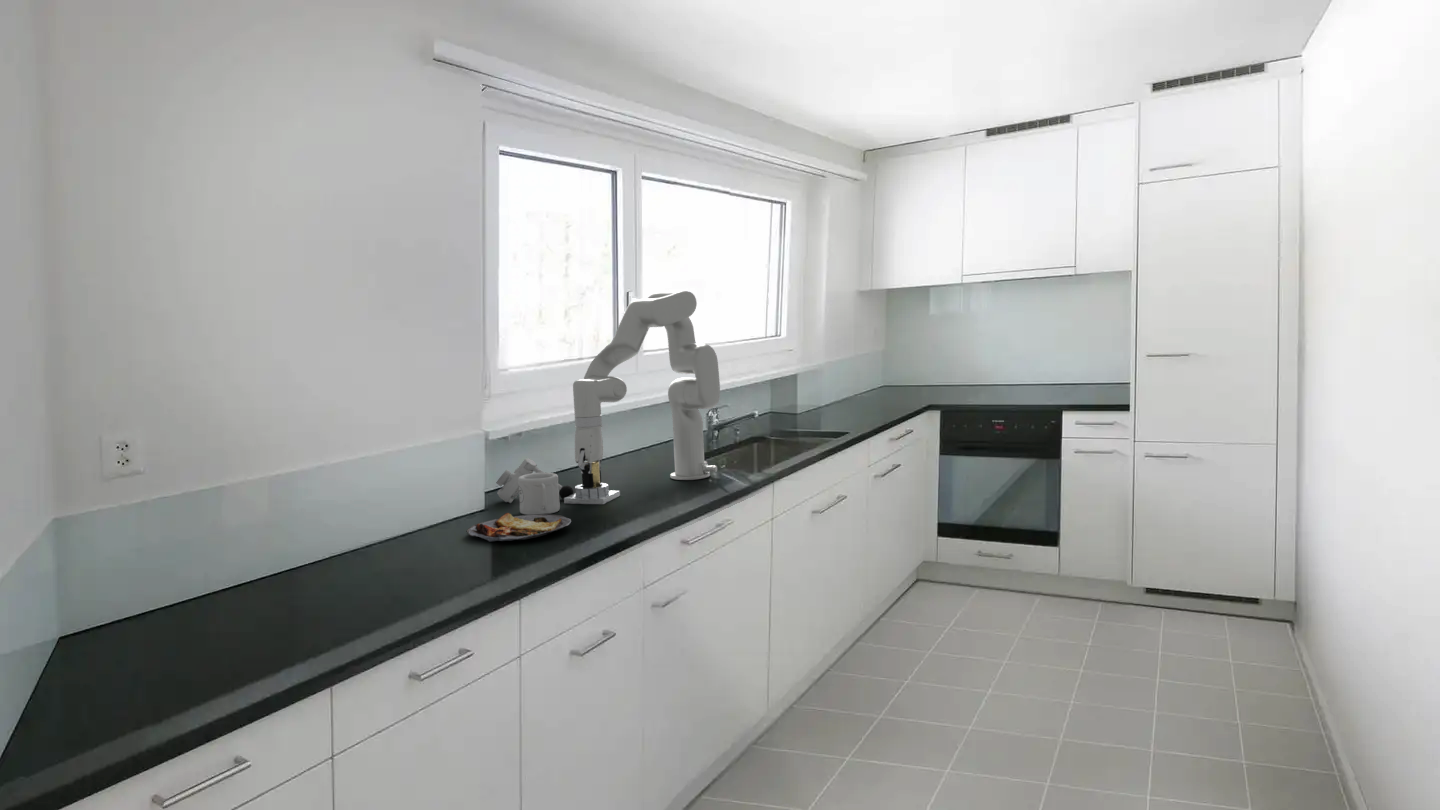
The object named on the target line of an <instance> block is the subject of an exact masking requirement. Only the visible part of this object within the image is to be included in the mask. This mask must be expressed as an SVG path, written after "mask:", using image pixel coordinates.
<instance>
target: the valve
mask: <svg viewBox="0 0 1440 810" xmlns="http://www.w3.org/2000/svg"><path fill="white" fill-rule="evenodd" d="M537 466H538V465H537V463H536V462H535V461H534V460H533V459H531V458H528V457H526V458H524V459H523V461H522V462H521V463H520V464H519V466H518V467H517V468H516V469H515V470H514V472H512V471H510V470H509V469H506V470H505V471H503V472H502V474H501V476H499V478H498V479H497V480H496V482H495V484H497V485H498V486H499V487H502V488H500V489H498V490H497V493H496V494H497V495H498V498H500V499H501V500H503V501H504V502H505V503H506V504H507V503H509V504H511V503H512V502H513V501H514V500H515V498H517V496H519V484H518V478H519V477H520V476H522V475H526V474H532V473H545V472H544V471H543V470H541V469H539V468H538V467H537ZM558 490H559V498H561V499H562V500H564V498H566V497H568V496H570V495H572V494H574V491H575V490H574V489H573V487H571V486H570V485H561V484H560V483H558Z"/></svg>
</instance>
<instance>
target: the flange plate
mask: <svg viewBox="0 0 1440 810" xmlns="http://www.w3.org/2000/svg"><path fill="white" fill-rule="evenodd" d="M574 491H575V493H574V494H572V495H570V496H568V497H566V498H564V499H563V501H564V502H563V503H564V504H570V505H571V504H572V505H573V504H576V505H577V504H578V505H579V504H580V505H605V504H607V503H609V502H610V501H612V500H614V499H617V498H618V497H620V496H621V490H610V486H609V484H608V483H606V482H601V484H600V487H595V488H584V487H583V484H582V483H581V484H577V485H575V486H574Z"/></svg>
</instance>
